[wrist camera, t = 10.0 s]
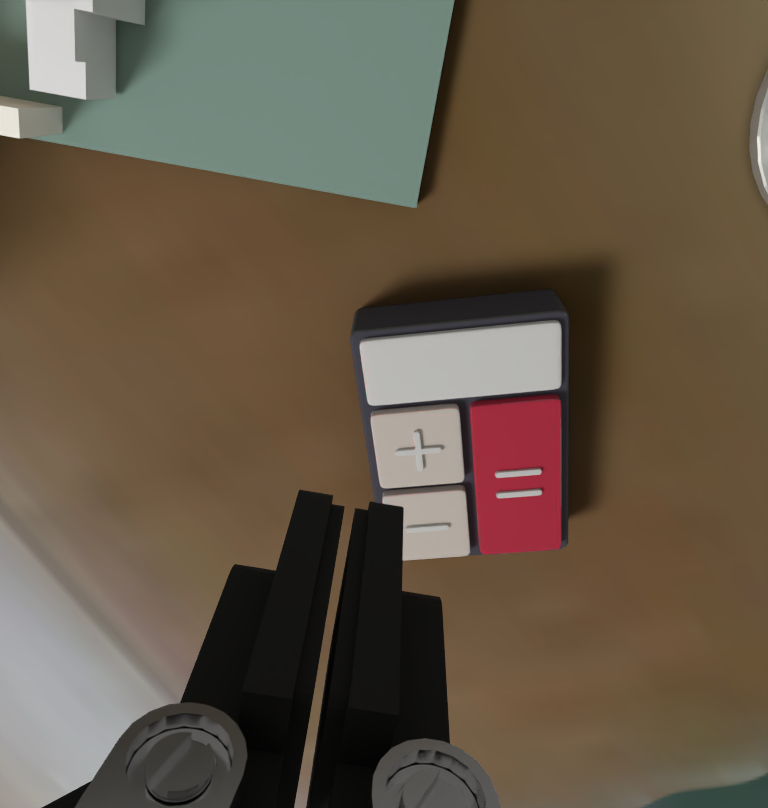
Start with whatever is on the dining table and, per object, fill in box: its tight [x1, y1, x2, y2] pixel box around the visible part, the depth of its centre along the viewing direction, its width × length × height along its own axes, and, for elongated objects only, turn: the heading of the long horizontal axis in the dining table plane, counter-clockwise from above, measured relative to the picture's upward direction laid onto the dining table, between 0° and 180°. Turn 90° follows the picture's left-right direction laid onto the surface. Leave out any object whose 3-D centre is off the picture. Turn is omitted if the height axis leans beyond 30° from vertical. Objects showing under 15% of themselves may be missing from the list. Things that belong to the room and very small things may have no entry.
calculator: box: [350, 289, 569, 560], centre depth 38 cm, size 11×4×15 cm
